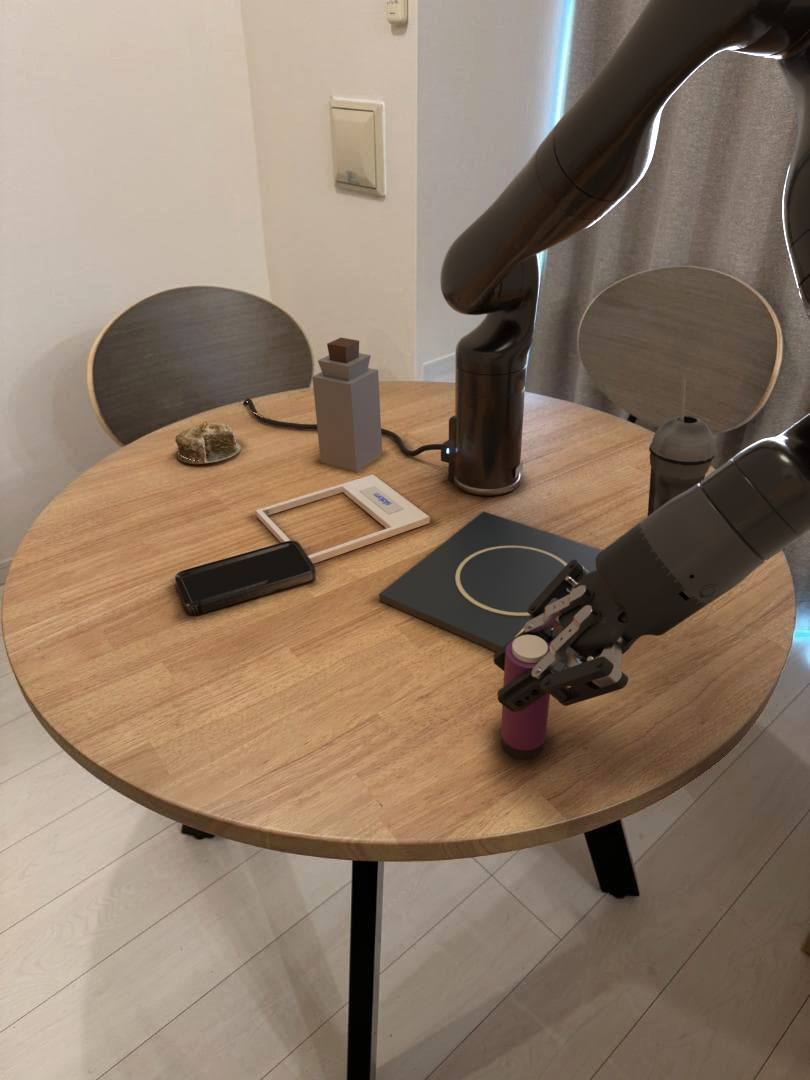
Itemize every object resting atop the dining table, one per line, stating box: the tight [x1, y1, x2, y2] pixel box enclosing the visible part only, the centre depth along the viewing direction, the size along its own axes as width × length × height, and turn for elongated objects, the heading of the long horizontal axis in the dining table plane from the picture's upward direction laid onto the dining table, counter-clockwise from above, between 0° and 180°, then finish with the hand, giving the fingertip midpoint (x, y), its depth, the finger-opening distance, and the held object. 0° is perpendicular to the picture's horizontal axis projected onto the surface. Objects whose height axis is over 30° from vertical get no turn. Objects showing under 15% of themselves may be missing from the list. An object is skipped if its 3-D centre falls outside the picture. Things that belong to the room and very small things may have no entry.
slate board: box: [378, 511, 604, 673], centre depth 83 cm, size 22×22×1 cm
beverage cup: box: [647, 379, 715, 517], centre depth 86 cm, size 7×7×20 cm
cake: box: [174, 421, 242, 465], centre depth 115 cm, size 10×10×5 cm
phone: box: [174, 540, 317, 616], centre depth 85 cm, size 8×1×15 cm
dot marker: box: [500, 635, 552, 760], centre depth 61 cm, size 4×4×11 cm
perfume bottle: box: [311, 337, 383, 473], centre depth 108 cm, size 7×7×18 cm
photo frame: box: [255, 474, 431, 564], centre depth 97 cm, size 15×1×18 cm
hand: (503, 683), depth 60 cm, fingers closed on dot marker, 3 cm apart
